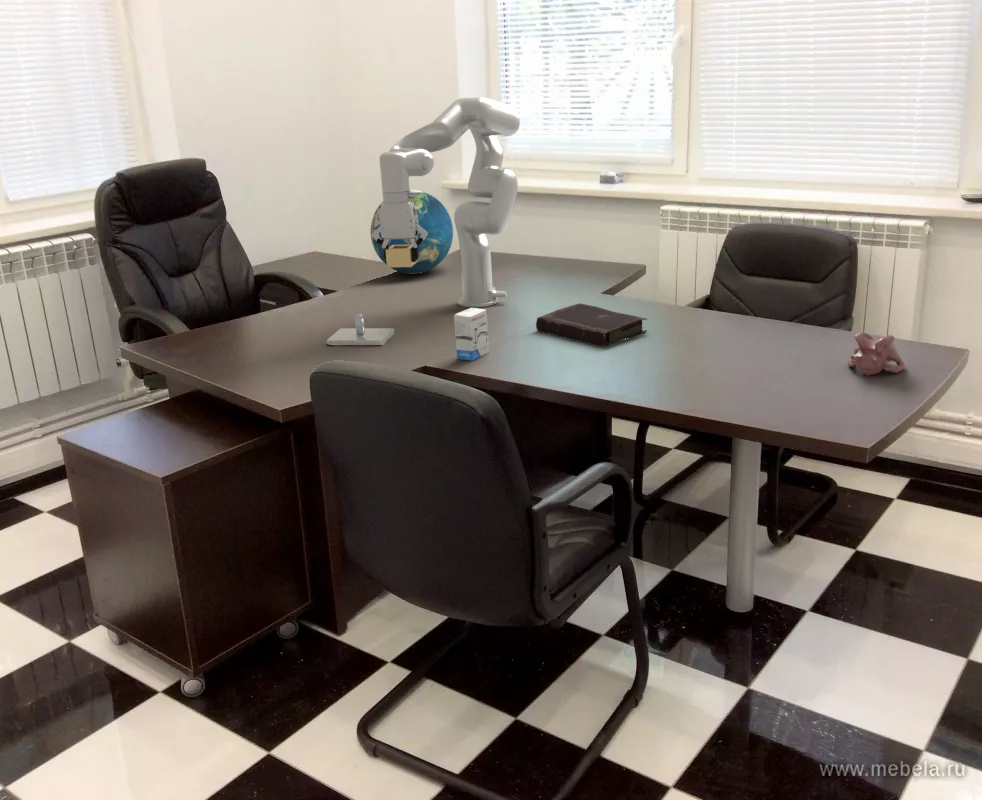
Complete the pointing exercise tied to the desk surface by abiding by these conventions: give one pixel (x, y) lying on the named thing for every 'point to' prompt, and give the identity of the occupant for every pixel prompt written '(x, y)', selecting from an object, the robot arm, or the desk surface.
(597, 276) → the desk surface
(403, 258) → the tan block
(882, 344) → the figurine
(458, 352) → the ink box
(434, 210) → the globe
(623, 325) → the diary
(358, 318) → the post block
